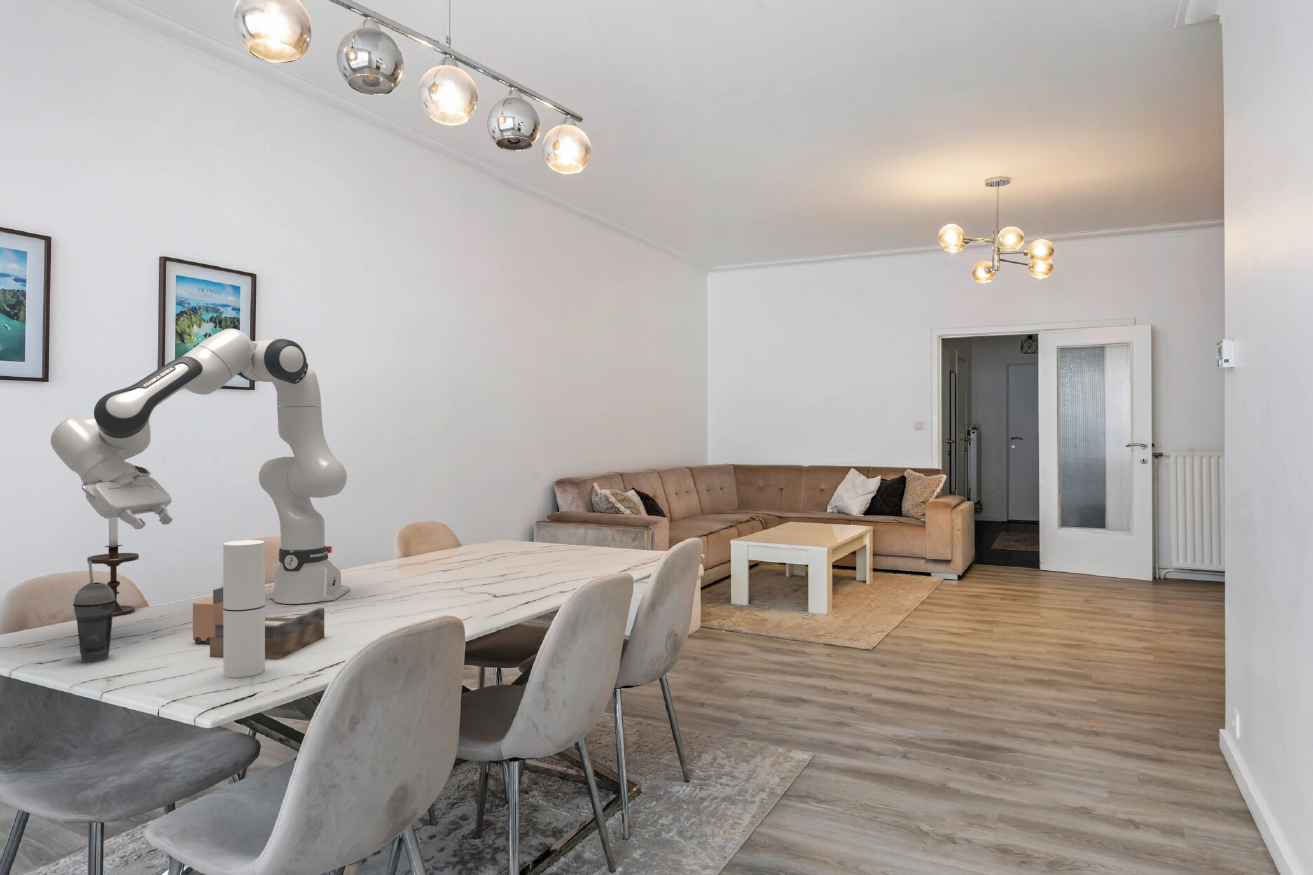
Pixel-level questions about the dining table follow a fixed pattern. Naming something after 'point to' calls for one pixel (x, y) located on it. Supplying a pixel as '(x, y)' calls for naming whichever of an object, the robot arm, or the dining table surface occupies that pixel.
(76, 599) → the beverage cup
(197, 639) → the tan block
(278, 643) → the dock
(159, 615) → the dining table surface
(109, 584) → the candlestick
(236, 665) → the cylindrical container
